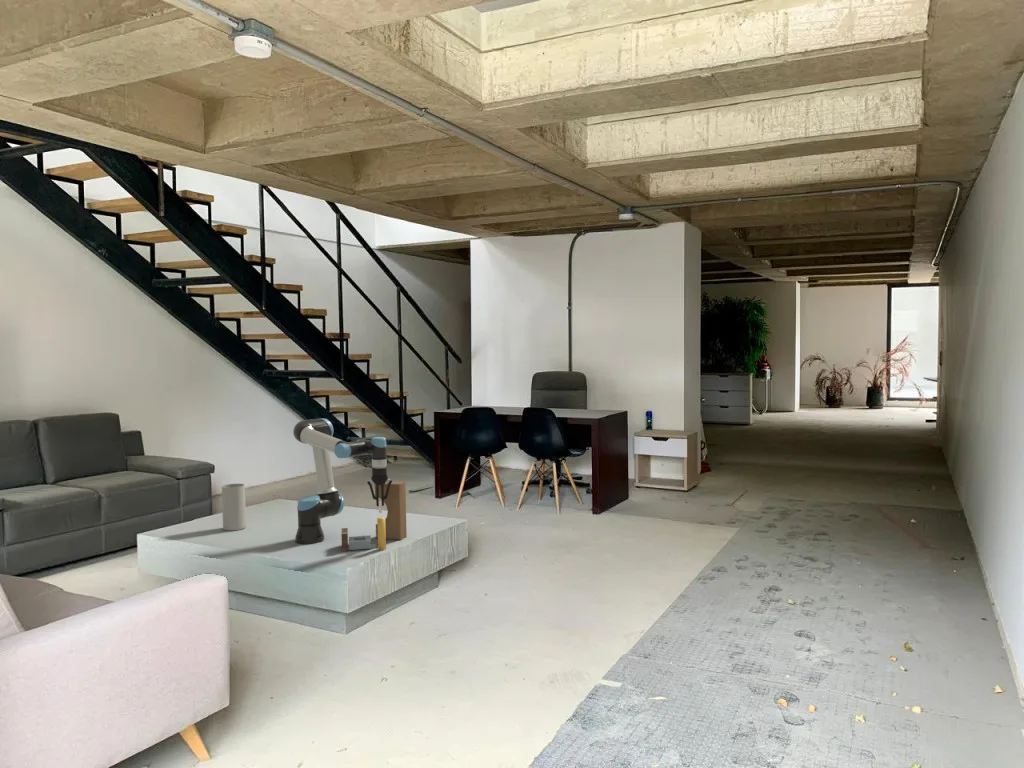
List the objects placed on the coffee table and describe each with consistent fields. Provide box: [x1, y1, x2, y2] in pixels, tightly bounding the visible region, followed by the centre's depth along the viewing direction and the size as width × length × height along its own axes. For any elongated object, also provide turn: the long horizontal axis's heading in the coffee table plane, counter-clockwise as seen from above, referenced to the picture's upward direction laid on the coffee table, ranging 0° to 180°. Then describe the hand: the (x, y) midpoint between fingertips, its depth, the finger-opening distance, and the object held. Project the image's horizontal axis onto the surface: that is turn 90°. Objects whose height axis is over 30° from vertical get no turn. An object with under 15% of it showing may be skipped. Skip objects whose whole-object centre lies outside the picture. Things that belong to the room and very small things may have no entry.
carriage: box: [348, 534, 372, 551], centre depth 394 cm, size 11×11×4 cm
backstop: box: [340, 527, 349, 553], centre depth 392 cm, size 13×3×9 cm, turn 12°
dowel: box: [376, 516, 387, 551], centre depth 389 cm, size 4×4×16 cm
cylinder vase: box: [221, 483, 247, 532], centre depth 440 cm, size 12×12×25 cm
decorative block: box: [374, 481, 408, 541], centre depth 412 cm, size 15×8×30 cm, turn 71°
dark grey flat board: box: [348, 543, 378, 551], centre depth 395 cm, size 8×19×1 cm, turn 102°
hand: (380, 512), depth 396 cm, fingers closed
